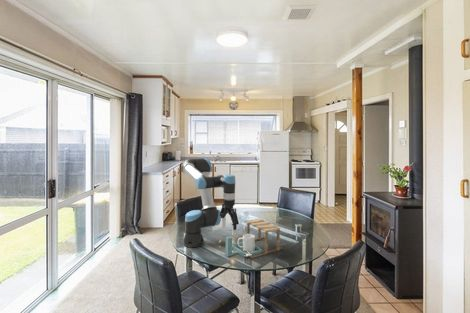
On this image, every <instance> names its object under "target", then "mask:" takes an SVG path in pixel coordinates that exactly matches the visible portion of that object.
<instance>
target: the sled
mask: <svg viewBox="0 0 470 313" xmlns="http://www.w3.org/2000/svg"><path fill="white" fill-rule="evenodd" d="M239 245H240V246H243V240H242V241H239ZM224 249H225V256H226V257H232V256H233V255H236V254H239V255H240V256H241V257H243V258H244V255H246V253H247V252H244V251H243V250H242V249H241V248H239V247H238V244H237V242H234V243H233V236H230V235H228V236H225V248H224ZM249 253H250V254H252V256H253V255H257V254H260V253H264V249H263V248H261V247H260V246H258V245H256V244H255V250H254V251H253V252H249Z"/></svg>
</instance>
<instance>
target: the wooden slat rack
mask: <svg viewBox="0 0 470 313" xmlns="http://www.w3.org/2000/svg"><path fill="white" fill-rule="evenodd" d="M250 226H252V227H254V228H257V238H255V242H257V241H262V240H263V241H264V242H263V243H264V246H263V248H264V249H263V253H260V254H257V255H253V256H251V258H250V259H254V258H257V257H261V256H264V255H268V254H271V253H274V252H278V251H282V250H284V246H281V247H279V242H281V241H280V239H281V238H280V236H281V235H280V234H281V227H280V226H277V225H275V224H273V223H271V222H268V221H266V220H264V219H262V218H255V219H250V220H247V221H246V234H250V230H251V229H250ZM262 231H263V232H264V237H261V235H262V234H261V233H262ZM275 231H276V238H275V239H276V245H275V246H276V247H275V249H271V250H268V242H269V241H268V240H269V238H268V237H269V233H270V232H275Z"/></svg>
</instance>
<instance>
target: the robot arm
mask: <svg viewBox="0 0 470 313" xmlns="http://www.w3.org/2000/svg"><path fill="white" fill-rule="evenodd" d="M212 169H213V166H212V162H211V161H210V160H209V159H208V158H204V157H203V158H199V157H198V158H188V159H186V160H184V161H183V162H182V164H181V172H182V173H183V174H184V175H185V176H189V178H191V179H192V181H194V183H195V184H194V185H195V188H196V189H197V190H199V192H200V196H201V203H202V208H201V210H200V209H193V210H190V211H188V212H186V214H185V216H184V217H185V218H184V221H185V222H184V223H185V231H184V232H185V233H184V237H183V239H182V245H183V246H184V247H186V248H198V247H201V246H203V245H204V243H205V239H204V235H203V233H202V229H205V228H206V229H207V228H211V227H216V226H219V225H220V224H221V228H222V229H223V228H226V224H227V223H226V219H227V218H226V216H227V215H229V217H230V220H231V222H232V224H231V235H232V236H233V235H237V226H238V225H240V224H239V218H238V214H237V208H234V206H235V204H236V199H235V198H236V176H235V174H224V175H222V174H218V175H216V176H210V174H211V172H212ZM216 188H222V189H223V195H222V196H223V198H222V199H223V201H222V205H221V209H218V207H217V206H216V205H215V202H214V197H213V190H212V189H216Z"/></svg>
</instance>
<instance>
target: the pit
mask: <svg viewBox="0 0 470 313" xmlns="http://www.w3.org/2000/svg"><path fill="white" fill-rule="evenodd" d="M268 242H269V243H270V244H272V245H274V246H276V238H270V239H269V238H268ZM284 246H287V244H286V243H284V242H281V241H280V242H279V248H281V247H284Z"/></svg>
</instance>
